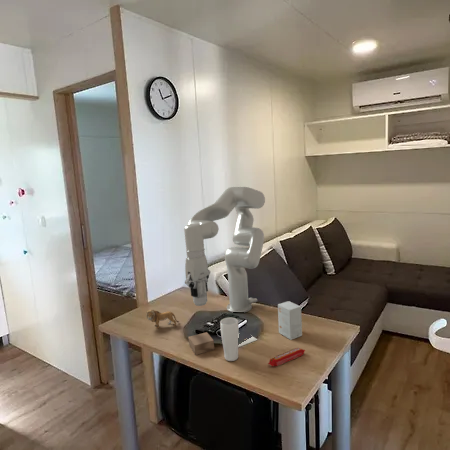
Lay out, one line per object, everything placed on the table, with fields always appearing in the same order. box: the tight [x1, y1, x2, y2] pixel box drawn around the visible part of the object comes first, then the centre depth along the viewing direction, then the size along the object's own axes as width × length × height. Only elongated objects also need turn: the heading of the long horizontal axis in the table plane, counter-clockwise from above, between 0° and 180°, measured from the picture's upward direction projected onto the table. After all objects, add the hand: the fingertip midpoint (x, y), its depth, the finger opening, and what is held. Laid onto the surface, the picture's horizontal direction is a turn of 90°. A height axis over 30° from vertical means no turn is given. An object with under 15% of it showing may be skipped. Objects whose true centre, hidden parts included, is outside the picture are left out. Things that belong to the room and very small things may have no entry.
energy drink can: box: [192, 272, 208, 307], centre depth 156 cm, size 6×6×15 cm
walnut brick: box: [188, 331, 215, 355], centre depth 147 cm, size 8×8×4 cm
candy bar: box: [267, 347, 306, 367], centre depth 134 cm, size 16×4×3 cm, turn 121°
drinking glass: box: [219, 316, 240, 362], centre depth 137 cm, size 7×7×15 cm
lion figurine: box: [145, 309, 180, 330], centre depth 169 cm, size 15×5×9 cm, turn 109°
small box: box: [277, 300, 303, 341], centre depth 153 cm, size 8×6×13 cm
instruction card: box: [238, 335, 258, 348], centre depth 151 cm, size 12×9×1 cm
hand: (199, 293), depth 156 cm, fingers closed on energy drink can, 6 cm apart
